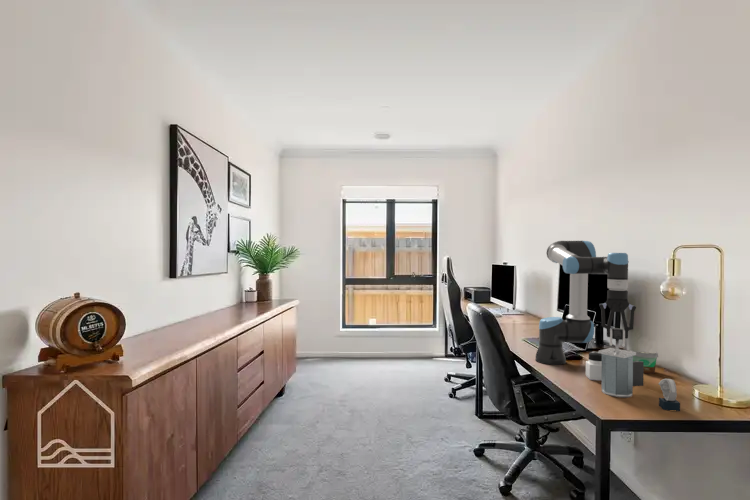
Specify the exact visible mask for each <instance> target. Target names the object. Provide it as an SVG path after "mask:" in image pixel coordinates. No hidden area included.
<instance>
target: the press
mask: <svg viewBox="0 0 750 500" xmlns="http://www.w3.org/2000/svg"><path fill="white" fill-rule="evenodd" d="M615 348H616V347H608V348H603V349H600V350H598V351H597V352H598V353H600V354H602V381H601V386H600V387H601V392H602V393H603V394H605V395H607V396H609V397H614V398H622V399H627V398H632V397H633V392H634V391H633V388H634V387H643V386H644V374H645V373H644V362H642V361H633V355H636V352H637V351H635V352H632V351H633V350H632V351H631V350H626V349H620V348H619V352H615Z"/></svg>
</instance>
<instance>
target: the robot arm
mask: <svg viewBox="0 0 750 500" xmlns="http://www.w3.org/2000/svg"><path fill="white" fill-rule="evenodd" d="M596 251H597V250H596V248H595V245H594V243H593V242H592V241H588V240H558V241H555V242H553V243H551V244H550V245H548V247H547V249H546V257H547V258H548V260H549V261H550V262H552V263H554V264H559V265H561V266H562V270H563V272H564V273H565V274H569V303H568V305H569V307H568V308H569V309H568V314H567V315H566V316H565V319H563V318H562V317H561V316H548V317H543V318H541V319H540V320H539V323H538V331H539V332H538V348H537V351H536V354H535V361H536V362H538V363H541V364H545V365H554V366H557V365H565V364H566V363H567V359H566V355H565V352H564V349H563V348H564V347H563V343H578V344H586V343H590V342H591V341H592V340H593V338H594V334H595V323H594V322H593V320H591V317H590V316H588V287H589V285H588V283H589V275H607V283H606V284H607V289H608V290H607V292H606V293H607V295H606V301H605V302H604V303H599V307H600V310H601V327H602V328H603V329H606V337H607V338H609V346H613V339H612V328H611V327H612V324H613V319H614V315H615V313H620V316H621V320H622V324H623V339H622V340H621V346H622V347H623V348H624V347H626V339H629V331H633V330H634V320H635V311H636V309H637V306H636V305H634V304H630V302H629V291H628V289H629V255H628V253H627V252H609V253H608V254H607V256H597V252H596ZM607 307H608V309H609V311H610V312H609V316H608V320H607V324H606V308H607ZM626 309H629V322H627V318H626V313H625V310H626ZM628 324H629V325H628Z"/></svg>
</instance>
